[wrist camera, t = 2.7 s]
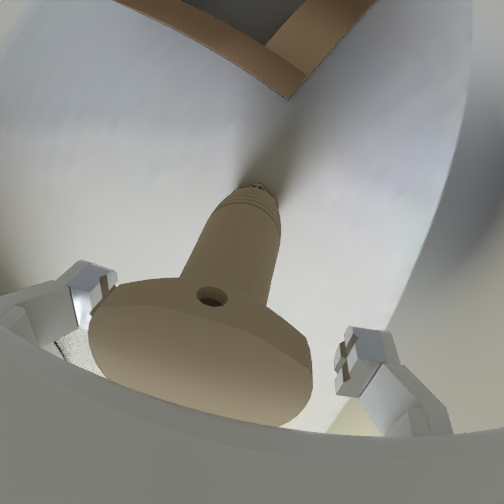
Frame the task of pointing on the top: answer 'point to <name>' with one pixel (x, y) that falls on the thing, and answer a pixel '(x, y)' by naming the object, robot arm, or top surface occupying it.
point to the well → (277, 48)
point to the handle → (211, 324)
